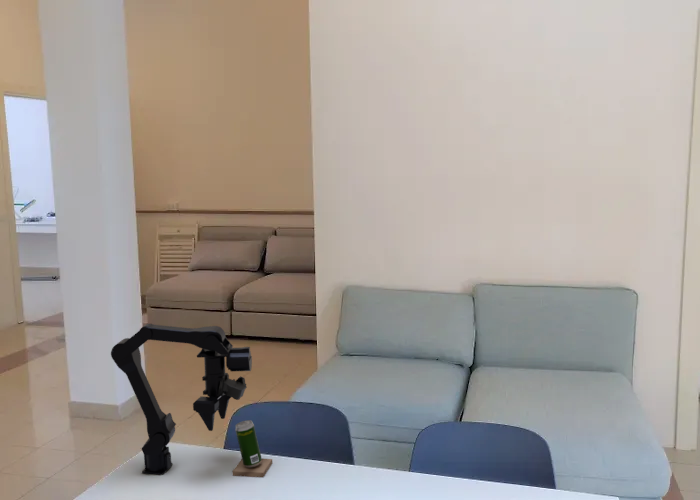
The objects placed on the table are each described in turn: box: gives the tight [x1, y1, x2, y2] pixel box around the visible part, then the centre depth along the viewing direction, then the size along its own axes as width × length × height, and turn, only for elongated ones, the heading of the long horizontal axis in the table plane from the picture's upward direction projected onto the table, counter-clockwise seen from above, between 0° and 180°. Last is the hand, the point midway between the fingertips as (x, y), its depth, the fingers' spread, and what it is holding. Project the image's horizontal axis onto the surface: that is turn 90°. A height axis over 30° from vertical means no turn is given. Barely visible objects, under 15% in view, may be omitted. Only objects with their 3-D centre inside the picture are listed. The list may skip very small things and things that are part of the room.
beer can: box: [235, 419, 262, 468], centre depth 183 cm, size 5×5×12 cm
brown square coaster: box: [231, 457, 273, 478], centre depth 184 cm, size 9×9×2 cm
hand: (216, 424), depth 184 cm, fingers open, 9 cm apart
